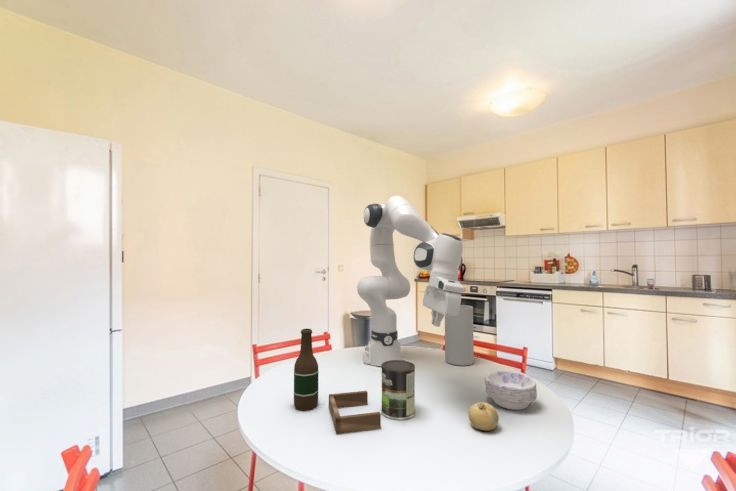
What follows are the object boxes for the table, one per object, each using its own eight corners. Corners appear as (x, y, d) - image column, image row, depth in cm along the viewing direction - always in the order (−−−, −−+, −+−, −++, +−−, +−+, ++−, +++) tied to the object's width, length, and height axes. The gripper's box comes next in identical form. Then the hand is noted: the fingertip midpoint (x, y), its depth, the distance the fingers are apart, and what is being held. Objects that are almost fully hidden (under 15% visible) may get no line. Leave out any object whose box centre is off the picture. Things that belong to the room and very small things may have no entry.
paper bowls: (485, 410, 101) (484, 383, 101) (485, 391, 115) (485, 368, 115) (540, 418, 95) (539, 390, 96) (533, 397, 110) (533, 373, 110)
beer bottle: (309, 398, 109) (309, 325, 110) (323, 405, 103) (323, 329, 105) (288, 405, 104) (289, 329, 105) (302, 414, 98) (302, 333, 99)
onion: (465, 420, 95) (464, 395, 95) (492, 420, 94) (492, 395, 95) (473, 434, 87) (472, 407, 87) (503, 435, 86) (503, 407, 87)
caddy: (328, 407, 102) (328, 394, 103) (366, 403, 105) (366, 390, 106) (336, 434, 87) (336, 418, 87) (380, 428, 89) (380, 413, 90)
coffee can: (390, 423, 92) (390, 372, 93) (375, 408, 102) (375, 362, 103) (422, 416, 97) (421, 367, 97) (404, 402, 106) (404, 358, 107)
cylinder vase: (441, 358, 154) (440, 304, 155) (466, 357, 155) (466, 304, 156) (450, 366, 141) (450, 308, 143) (478, 365, 143) (477, 308, 144)
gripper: (422, 278, 116) (415, 317, 115) (447, 285, 96) (439, 332, 95) (438, 281, 117) (431, 319, 116) (467, 288, 97) (459, 335, 96)
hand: (435, 325), depth 105 cm, fingers closed
